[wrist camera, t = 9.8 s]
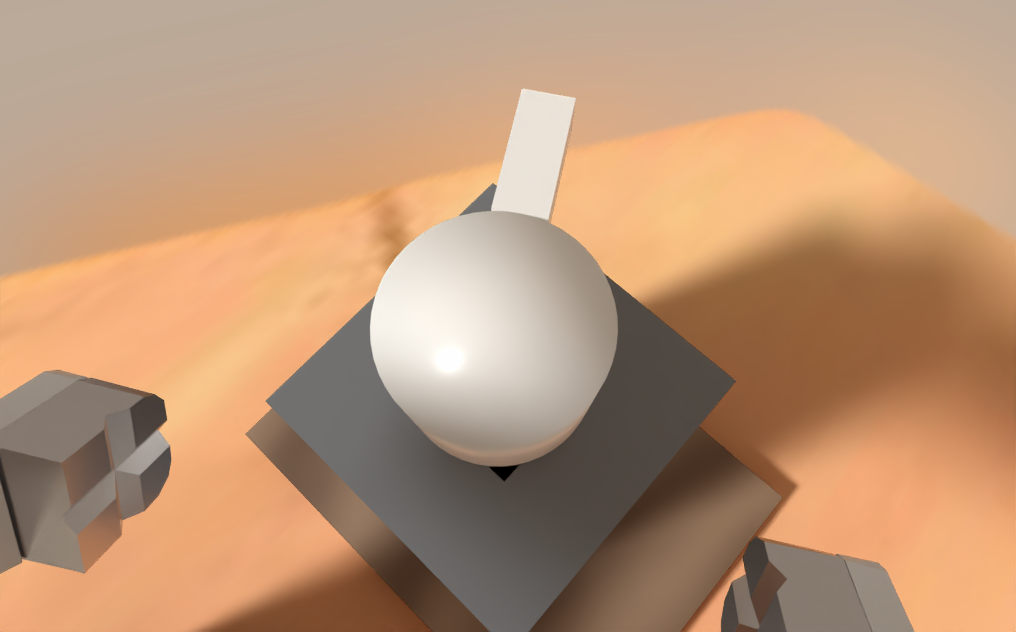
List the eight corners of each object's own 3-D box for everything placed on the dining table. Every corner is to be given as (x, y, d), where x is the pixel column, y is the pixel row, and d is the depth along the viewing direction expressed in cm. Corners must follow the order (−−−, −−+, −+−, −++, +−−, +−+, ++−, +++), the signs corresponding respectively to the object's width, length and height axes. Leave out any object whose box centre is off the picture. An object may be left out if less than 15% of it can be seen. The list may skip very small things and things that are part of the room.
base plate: (771, 498, 33) (782, 497, 32) (567, 764, 30) (569, 776, 28) (463, 236, 38) (461, 225, 37) (256, 438, 35) (245, 434, 33)
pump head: (622, 391, 24) (747, 226, 11) (509, 520, 22) (499, 504, 10) (527, 309, 25) (540, 71, 12) (413, 428, 23) (290, 301, 11)
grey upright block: (621, 460, 33) (736, 380, 16) (513, 586, 31) (510, 652, 14) (504, 356, 34) (493, 183, 17) (396, 470, 33) (265, 400, 16)
